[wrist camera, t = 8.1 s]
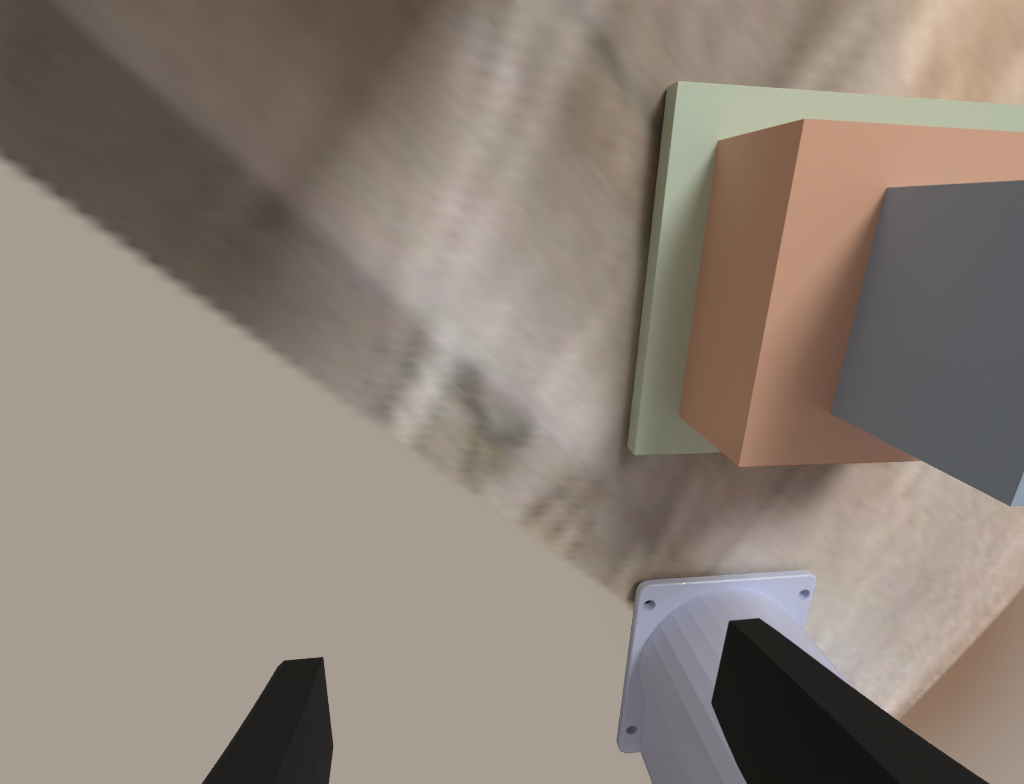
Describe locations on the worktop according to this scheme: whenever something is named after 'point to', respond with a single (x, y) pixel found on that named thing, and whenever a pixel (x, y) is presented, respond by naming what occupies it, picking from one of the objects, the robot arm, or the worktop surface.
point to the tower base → (687, 214)
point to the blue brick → (944, 333)
